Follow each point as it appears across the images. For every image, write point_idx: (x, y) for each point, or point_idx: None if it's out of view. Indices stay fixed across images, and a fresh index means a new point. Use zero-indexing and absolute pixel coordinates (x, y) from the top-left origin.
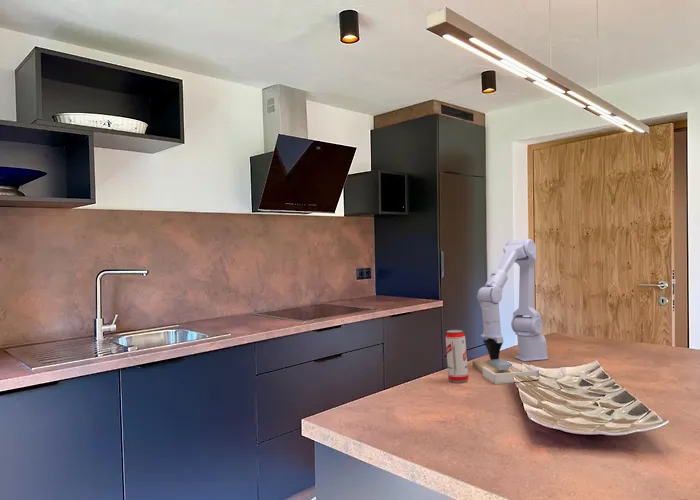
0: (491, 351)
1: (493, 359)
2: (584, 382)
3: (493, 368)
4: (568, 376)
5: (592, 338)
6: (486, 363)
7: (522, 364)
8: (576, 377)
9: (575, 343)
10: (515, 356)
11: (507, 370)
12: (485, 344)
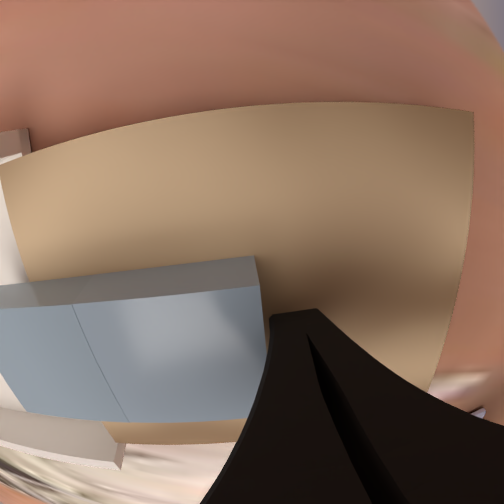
0: (249, 426)
1: (261, 342)
2: (14, 470)
3: (45, 257)
4: (75, 484)
5: None
6: (327, 235)
7: (100, 458)
8: (66, 488)
9: None
10: (480, 413)
11: None
12: (492, 444)
